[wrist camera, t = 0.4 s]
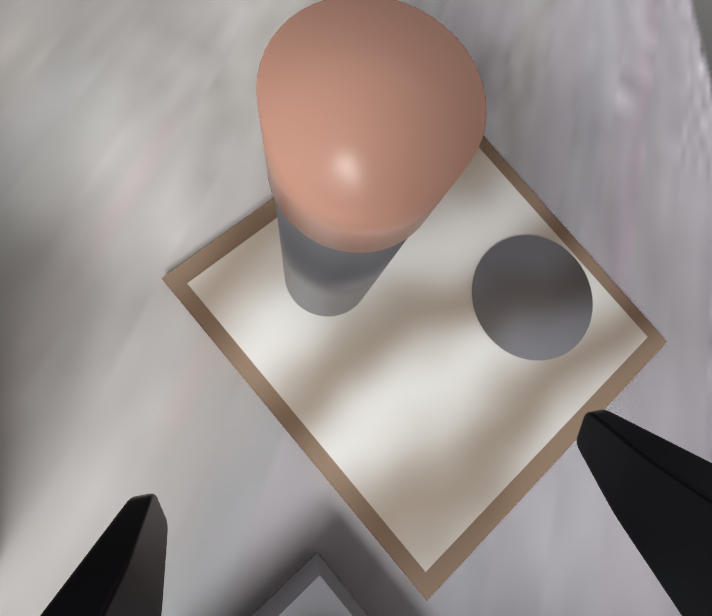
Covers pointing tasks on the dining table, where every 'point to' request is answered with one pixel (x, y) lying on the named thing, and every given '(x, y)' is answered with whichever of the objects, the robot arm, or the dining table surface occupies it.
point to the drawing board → (431, 361)
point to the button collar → (312, 594)
